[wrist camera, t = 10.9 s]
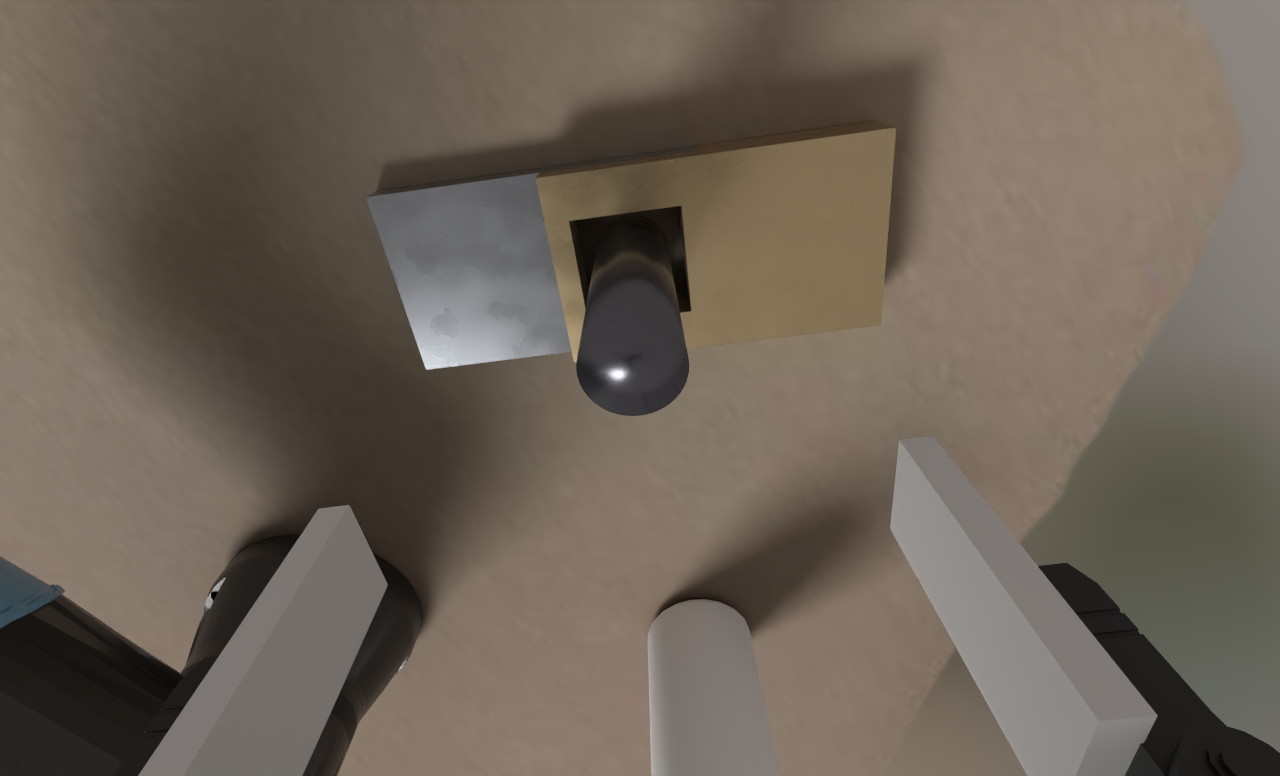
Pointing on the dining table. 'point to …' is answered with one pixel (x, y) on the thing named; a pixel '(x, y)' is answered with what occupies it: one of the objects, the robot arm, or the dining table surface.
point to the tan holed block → (686, 177)
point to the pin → (632, 322)
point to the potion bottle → (706, 695)
